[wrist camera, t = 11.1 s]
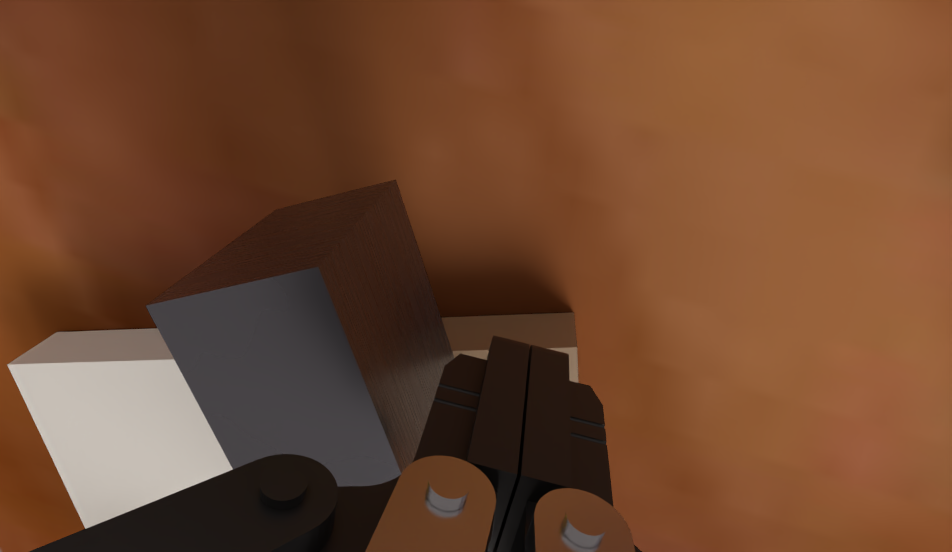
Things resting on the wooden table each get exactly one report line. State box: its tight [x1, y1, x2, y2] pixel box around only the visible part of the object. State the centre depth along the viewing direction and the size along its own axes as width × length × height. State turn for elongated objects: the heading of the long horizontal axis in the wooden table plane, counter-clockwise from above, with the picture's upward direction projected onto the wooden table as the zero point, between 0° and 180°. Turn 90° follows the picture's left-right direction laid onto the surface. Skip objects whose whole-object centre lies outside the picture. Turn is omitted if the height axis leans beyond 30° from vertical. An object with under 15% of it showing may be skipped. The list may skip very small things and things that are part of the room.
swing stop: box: [146, 180, 454, 486], centre depth 14 cm, size 12×3×5 cm, turn 15°
